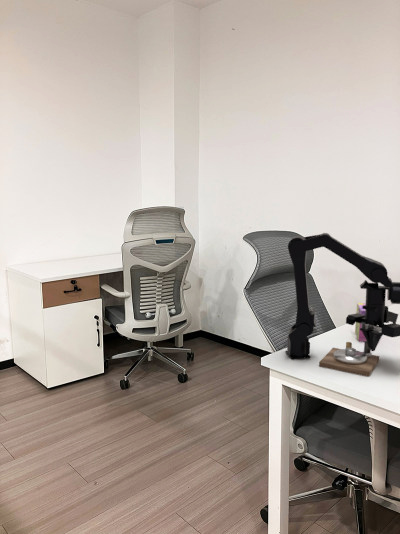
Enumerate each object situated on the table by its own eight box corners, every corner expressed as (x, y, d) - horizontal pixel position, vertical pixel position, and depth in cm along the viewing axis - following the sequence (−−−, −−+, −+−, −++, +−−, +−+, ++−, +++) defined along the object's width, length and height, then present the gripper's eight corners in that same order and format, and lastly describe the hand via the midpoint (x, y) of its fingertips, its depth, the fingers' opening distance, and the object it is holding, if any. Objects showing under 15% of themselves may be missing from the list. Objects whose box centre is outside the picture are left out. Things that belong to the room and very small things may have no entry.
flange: (346, 366, 142) (347, 351, 141) (327, 354, 151) (328, 340, 151) (380, 361, 146) (381, 346, 145) (359, 350, 156) (360, 336, 155)
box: (374, 342, 168) (377, 311, 166) (358, 341, 169) (360, 310, 167) (370, 333, 178) (372, 303, 176) (354, 332, 179) (356, 302, 177)
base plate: (368, 376, 139) (370, 362, 138) (319, 366, 146) (319, 352, 146) (379, 360, 151) (380, 347, 150) (332, 351, 159) (333, 339, 158)
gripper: (418, 305, 141) (415, 355, 144) (369, 294, 158) (367, 339, 160) (393, 310, 136) (390, 361, 138) (345, 298, 152) (343, 344, 155)
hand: (373, 351), depth 148 cm, fingers closed
